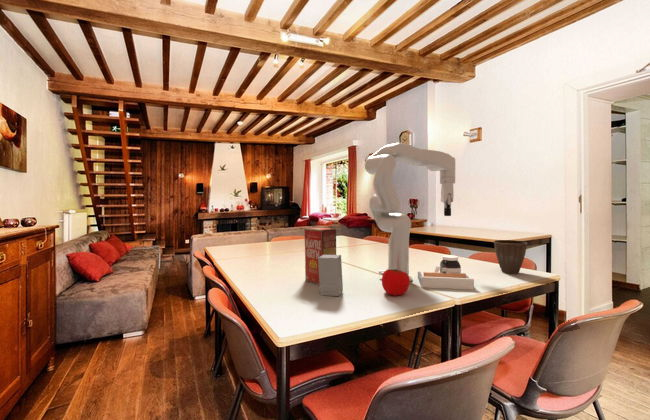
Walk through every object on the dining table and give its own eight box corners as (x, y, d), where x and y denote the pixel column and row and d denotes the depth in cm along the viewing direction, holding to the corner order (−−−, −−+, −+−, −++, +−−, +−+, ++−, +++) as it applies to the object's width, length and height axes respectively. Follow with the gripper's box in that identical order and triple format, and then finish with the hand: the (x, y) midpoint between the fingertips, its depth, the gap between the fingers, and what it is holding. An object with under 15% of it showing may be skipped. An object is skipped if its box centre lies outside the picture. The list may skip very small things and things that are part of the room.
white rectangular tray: (421, 287, 140) (421, 277, 140) (417, 277, 157) (417, 268, 156) (473, 289, 136) (474, 279, 136) (464, 279, 153) (464, 270, 152)
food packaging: (304, 280, 153) (303, 228, 152) (318, 277, 159) (318, 226, 158) (322, 286, 143) (322, 230, 142) (337, 282, 149) (337, 228, 149)
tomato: (378, 296, 127) (378, 270, 127) (384, 288, 139) (384, 264, 139) (407, 299, 123) (407, 273, 123) (411, 290, 135) (411, 266, 135)
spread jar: (463, 283, 145) (463, 258, 145) (439, 284, 144) (439, 258, 144) (450, 277, 157) (450, 253, 157) (428, 278, 156) (428, 254, 156)
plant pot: (499, 275, 160) (499, 243, 160) (489, 268, 175) (489, 239, 174) (532, 276, 158) (532, 244, 157) (519, 269, 172) (519, 240, 172)
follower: (423, 283, 146) (423, 271, 146) (423, 282, 147) (423, 270, 147) (466, 285, 142) (466, 272, 142) (465, 284, 144) (465, 271, 144)
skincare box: (343, 292, 133) (342, 254, 133) (338, 297, 126) (337, 257, 126) (323, 290, 136) (323, 253, 135) (317, 295, 129) (317, 256, 129)
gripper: (437, 181, 176) (437, 215, 177) (442, 180, 161) (442, 216, 162) (452, 181, 175) (452, 215, 175) (458, 180, 160) (458, 216, 161)
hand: (447, 215), depth 169 cm, fingers closed
